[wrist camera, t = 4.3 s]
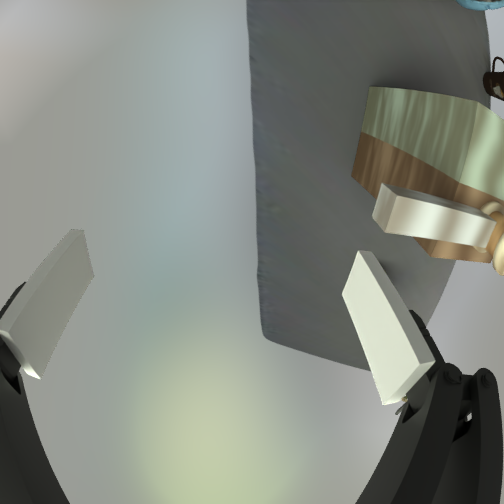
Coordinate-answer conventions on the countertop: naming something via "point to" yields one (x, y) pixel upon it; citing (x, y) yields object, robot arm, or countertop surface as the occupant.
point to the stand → (432, 153)
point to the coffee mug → (494, 82)
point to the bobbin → (442, 220)
